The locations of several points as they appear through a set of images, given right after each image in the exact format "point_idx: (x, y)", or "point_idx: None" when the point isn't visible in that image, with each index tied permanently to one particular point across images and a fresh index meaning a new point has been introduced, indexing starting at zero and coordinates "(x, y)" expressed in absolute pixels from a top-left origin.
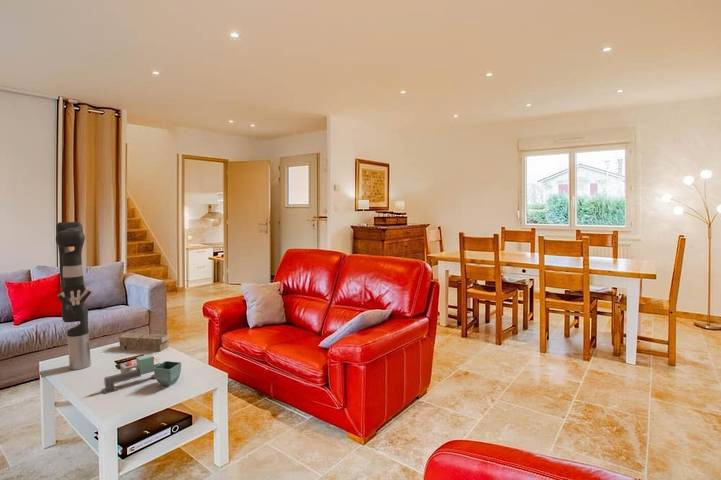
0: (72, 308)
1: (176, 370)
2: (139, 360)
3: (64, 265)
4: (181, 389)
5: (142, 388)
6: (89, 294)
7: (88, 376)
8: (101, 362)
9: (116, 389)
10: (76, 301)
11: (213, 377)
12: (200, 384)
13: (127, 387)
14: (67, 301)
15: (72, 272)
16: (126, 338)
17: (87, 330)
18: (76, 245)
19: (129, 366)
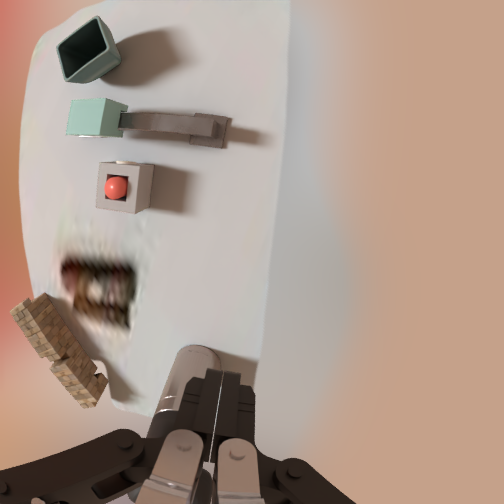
0: (250, 419)
1: (81, 36)
2: (106, 102)
3: None
4: (113, 14)
5: (153, 75)
6: (15, 469)
7: (206, 284)
8: (155, 347)
9: (197, 113)
10: (196, 473)
11: (51, 36)
12: (82, 17)
13: (171, 111)
14: (309, 497)
15: None
16: (85, 385)
17: (154, 420)
18: None
19: (124, 170)
